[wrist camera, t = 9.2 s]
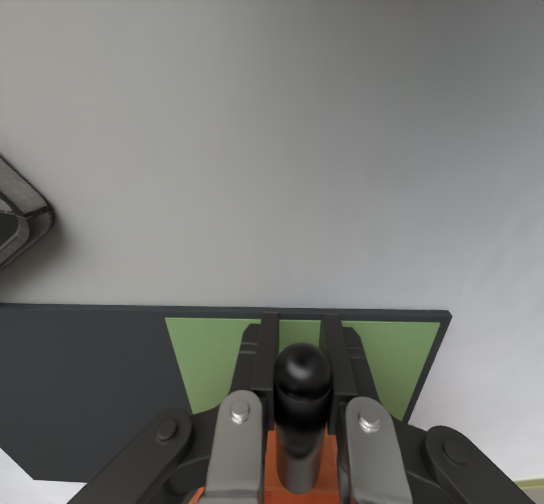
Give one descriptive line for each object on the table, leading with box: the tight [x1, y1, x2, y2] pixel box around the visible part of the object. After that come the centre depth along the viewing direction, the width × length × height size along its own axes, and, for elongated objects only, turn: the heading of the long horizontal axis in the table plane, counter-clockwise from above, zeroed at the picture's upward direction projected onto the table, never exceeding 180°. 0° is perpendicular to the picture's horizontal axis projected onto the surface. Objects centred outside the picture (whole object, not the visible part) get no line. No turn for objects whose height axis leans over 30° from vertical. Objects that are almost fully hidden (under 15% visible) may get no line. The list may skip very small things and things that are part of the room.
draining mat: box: [0, 304, 452, 483], centre depth 17 cm, size 30×20×1 cm, turn 91°
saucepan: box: [189, 342, 339, 504], centre depth 13 cm, size 12×19×4 cm, turn 1°
